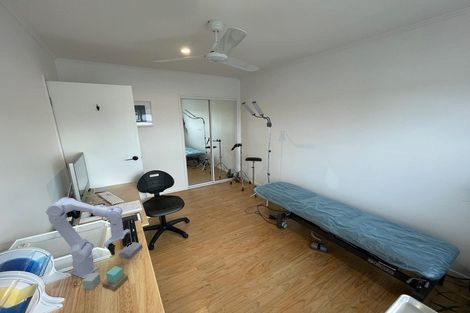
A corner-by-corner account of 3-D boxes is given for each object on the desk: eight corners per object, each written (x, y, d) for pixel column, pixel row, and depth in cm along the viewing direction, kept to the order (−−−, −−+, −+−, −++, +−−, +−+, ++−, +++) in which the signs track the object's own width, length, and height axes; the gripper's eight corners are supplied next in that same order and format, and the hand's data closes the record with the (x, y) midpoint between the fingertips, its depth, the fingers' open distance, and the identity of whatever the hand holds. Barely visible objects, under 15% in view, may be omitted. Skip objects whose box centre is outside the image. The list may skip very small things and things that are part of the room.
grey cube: (83, 289, 95) (82, 280, 94) (91, 280, 99) (90, 272, 98) (93, 289, 94) (91, 281, 93) (100, 281, 99) (99, 273, 98)
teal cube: (107, 281, 96) (106, 273, 95) (115, 274, 101) (115, 266, 100) (114, 284, 95) (113, 275, 94) (123, 276, 99) (122, 268, 98)
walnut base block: (102, 287, 96) (102, 282, 95) (116, 275, 104) (116, 270, 103) (114, 292, 94) (113, 287, 93) (128, 279, 101) (127, 274, 101)
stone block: (117, 260, 117) (131, 259, 115) (115, 253, 116) (129, 252, 114) (131, 248, 128) (143, 247, 126) (129, 241, 128) (142, 241, 126)
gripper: (109, 238, 97) (112, 260, 100) (133, 223, 110) (134, 244, 113) (100, 235, 99) (102, 257, 102) (124, 221, 113) (126, 241, 115)
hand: (119, 250), depth 108 cm, fingers open, 7 cm apart
